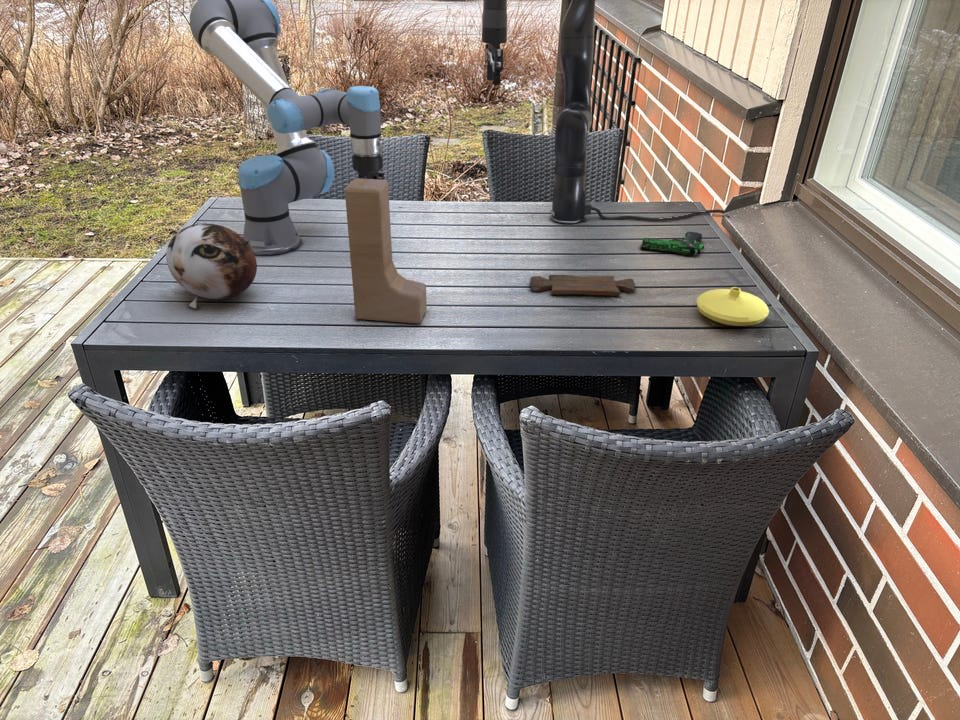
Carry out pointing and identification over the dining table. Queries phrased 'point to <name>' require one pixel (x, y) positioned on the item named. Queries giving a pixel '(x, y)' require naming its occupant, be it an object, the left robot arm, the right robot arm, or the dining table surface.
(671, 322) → the dining table surface
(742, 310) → the yellow lid
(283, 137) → the left robot arm
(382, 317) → the decorative block
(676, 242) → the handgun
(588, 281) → the wooden paddle board
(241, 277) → the plush toy
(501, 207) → the dining table surface
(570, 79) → the right robot arm
